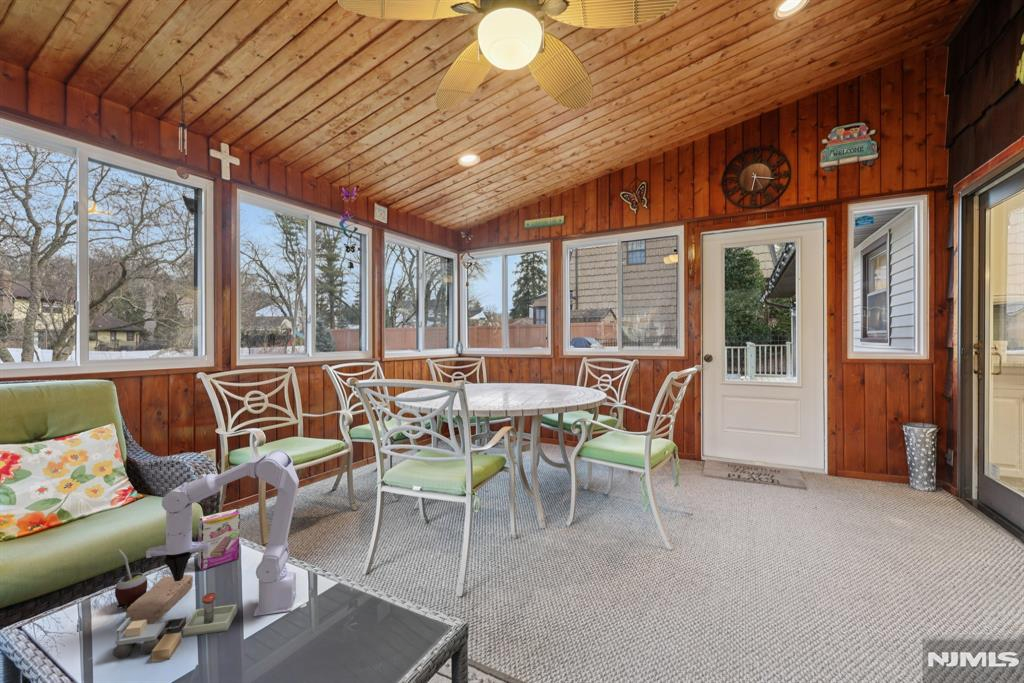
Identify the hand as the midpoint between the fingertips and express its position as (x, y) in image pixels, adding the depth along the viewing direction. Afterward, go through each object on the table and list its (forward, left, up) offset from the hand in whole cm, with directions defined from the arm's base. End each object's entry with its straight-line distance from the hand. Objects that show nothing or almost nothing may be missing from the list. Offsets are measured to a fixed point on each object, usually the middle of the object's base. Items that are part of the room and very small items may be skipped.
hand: (178, 579), depth 123 cm
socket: (-2, +7, -10) cm, 12 cm away
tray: (-10, +7, -10) cm, 16 cm away
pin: (-9, +6, -9) cm, 15 cm away
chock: (-4, +16, -10) cm, 19 cm away
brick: (+7, -6, -10) cm, 14 cm away
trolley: (+3, +13, -10) cm, 17 cm away
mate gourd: (+15, -8, -10) cm, 20 cm away
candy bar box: (-1, -28, -10) cm, 30 cm away
